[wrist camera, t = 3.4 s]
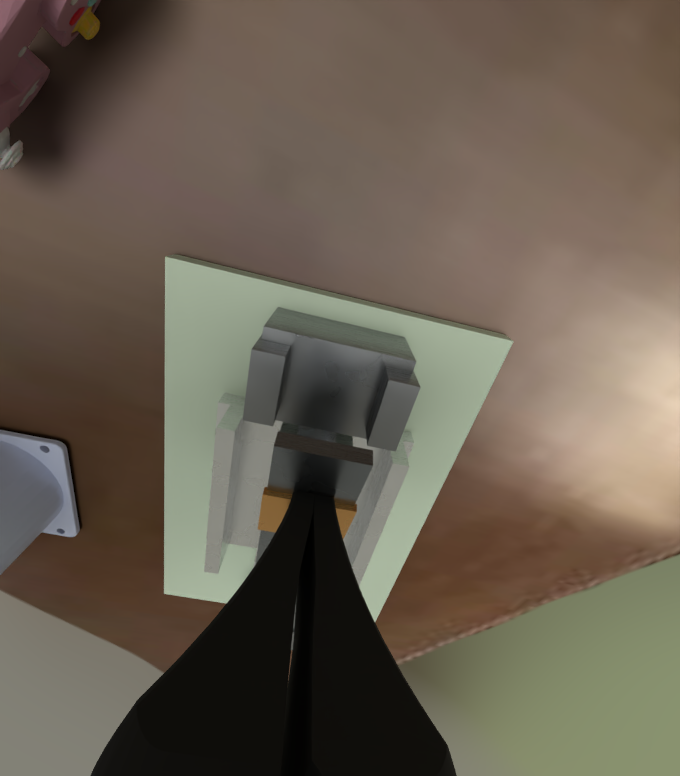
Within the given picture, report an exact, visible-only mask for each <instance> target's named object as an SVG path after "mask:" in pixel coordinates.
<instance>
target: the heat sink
mask: <svg viewBox="0 0 680 776" xmlns="http://www.w3.org/2000/svg"><path fill="white" fill-rule="evenodd" d="M244 404H245V397H243V396H238V395H233V394H229V393H224V394H223V396H222V397H221V399H220V400H219V401H218V408H217V420H216V431H215V443H214V455H213V467H212V478H211V490H210V502H209V514H208V525H207V537H206V540H207V543H206V555H205V566H204V572H209V573H215V574H218V573H219V571H220V568H221V565H222V562H223V559H224V557H225V554H226V551H227V548H228V545H229V544H234V545H240V546H245V547H251V548H257V551H258V544H259V538H260V531H261V530H258V523H259V516H260V509H261V502H262V495H263V491H264V487H267V486H268V480H269V473H270V467H271V461H272V454H273V448H274V443H275V440H276V436H277V433H278V431H280V432H285V433H290V434H295V435H300V436H305V437H310V438H315V439H320V440H325V441H329V442H334V443H339V444H344V445H349V446H354V447H359V448H364V449H369V450H373V467H372V469H371V472H370V474H369V476H368V478H367V480H366V482H365V484H364V486H363V488H362V491H361V493H360V495H359V497H358V499H357V501H356V503H355V504H357V513H356V515H355V517H354V519H353V521H352V523H351V525H350V527H349V529H348V531H347V533H346V535H345V537H344V539H343V541H344V544H345V548H346V551H347V554H348V557H349V560H350V563H351V566H352V569H353V572H354V574H355V577H356V580H357V582H358V585H360V583H361V581H362V578H363V576H364V574H365V571H366V569H367V566H368V564H369V562H370V559H371V557H372V555H373V552H374V550H375V547H376V545H377V543H378V540H379V538H380V536H381V533H382V531H383V528H384V526H385V524H386V521H387V519H388V517H389V514H390V512H391V509H392V507H393V505H394V502H395V500H396V498H397V495H398V493H399V490H400V488H401V486H402V483H403V481H404V479H405V476H406V474H407V471H408V469H409V467H410V466H409V462H408V457H409V455H410V452H411V450H412V447H413V445H414V440H413V437H412V434H411V432H409V431H403V434H402V437H401V439H400V442H399V444H398V447H397V450H396V452H395V451H390V450H385V449H381V448H376V447H371V446H367V440H366V439H364V438H359V437H354V436H349V435H345V434H340V433H335V432H330V431H325V430H320V429H316V428H311V427H306V426H301V425H296V424H291V423H286V422H282V421H277V420H275V422H274V425H273V426H268V425H263V424H259V423H254V422H249V421H244V420H242V419H243V412H244ZM257 551H256V556H255V561H254V566H255V564H256V557H257ZM253 568H254V567H253Z"/></svg>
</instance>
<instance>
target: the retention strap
mask: <svg viewBox="0 0 680 776" xmlns="http://www.w3.org/2000/svg"><path fill="white" fill-rule="evenodd" d="M372 467H373V450H369V449H364V448H359V447H354V446H349V445H344V444H339V443H334V442H329V441H325V440H320V439H315V438H310V437H305V436H300V435H295V434H290V433H285V432H280V431H278V433H277V436H276V440H275V443H274V448H273V454H272V461H271V467H270V473H269V480H268V486H267V487H264V491H263V495H262V502H261V509H260V516H259V523H258V530H261V531H260V538H259V544H258V551H257V557H256V563H257V562H258V560H259V559H260V557H261V556H262V554H263V552H264V551H265V549H266V548H267V546H268V545H269V543H270V541H271V540H272V538H273V536H274V534H275V533H276V531H277V529H278V527H279V525H280V524H281V522H282V520H283V517H284V515H285V513H286V511H287V509H288V506H289V504H290V501H291V498H292V494H293V492H295V491H302V492H307V493H312V494H314V495H315V494H317V495H322V496H328V497H332V498H333V499H334V500H335V507H336V513H337V518H338V522H339V526H340V530H341V534H342V538H343V539H344V537H345V535H346V533H347V531H348V529H349V527H350V525H351V523H352V521H353V519H354V517H355V515H356V513H357V504H355V503H356V501H357V499H358V497H359V495H360V493H361V491H362V488H363V486H364V484H365V482H366V480H367V478H368V476H369V474H370V472H371V469H372ZM255 565H256V564H255ZM296 597H297V596H296ZM295 613H296V605H295ZM293 628H295V614H294V624H293Z"/></svg>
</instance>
